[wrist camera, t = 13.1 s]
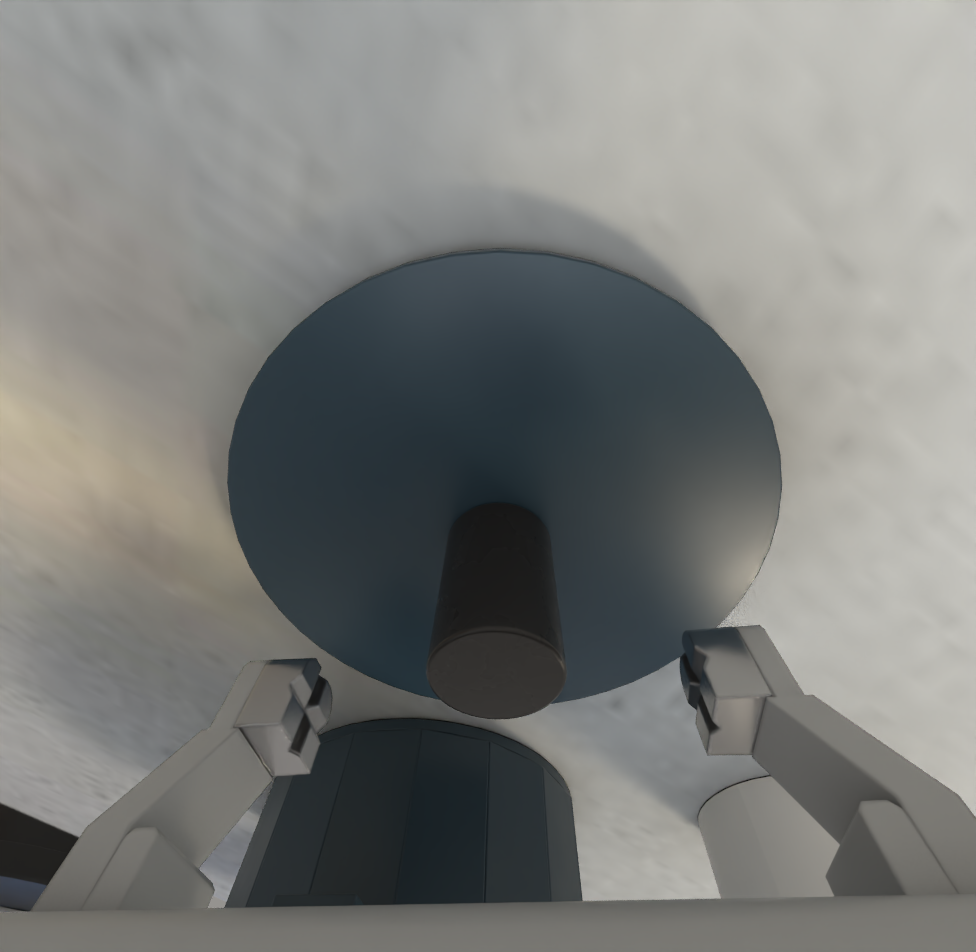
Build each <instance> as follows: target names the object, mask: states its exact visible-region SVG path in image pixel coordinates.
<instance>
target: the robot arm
mask: <svg viewBox="0 0 976 952" xmlns="http://www.w3.org/2000/svg"><path fill="white" fill-rule="evenodd" d="M682 645H683V648H684V650H685V653H684V654H683V655H682V656H681V657H680V674H681V681H682V685H683V689H684V692H685V695H686V698H687V701H688V703H689V704H690V705H691V706H692V707H694V708H695V709H696V710H697V715H696V726H697V729H698V731H699V734H700V737H701V740H702V742H703V745H704V748H705V750H706V753H707V756H708V755H752V757H753V758H754V759H755V760H756V761H757V762H758V763H759V764H760V765H761V766H762V767H763V768H764V769H765V770H766V771H767V772H768V773H769V774H770V775H771V776H772V777H773V778H774V779H775V780H776V781H777V782H778V783H779V784H780V785H781V786H782V787H783V788H784V789H785V790H786V791H787V792H788V793H789V794H790V795H791V796H792V797H793V798H794V799H795V800H796V801H797V802H798V803H799V804H800V805H801V806H802V807H803V808H804V809H805V810H806V811H807V812H808V813H809V814H810V815H811V816H812V817H813V818H814V819H815V820H816V821H817V822H818V823H819V824H820V825H821V826H822V827H823V828H824V829H825V830H826V831H827V832H828V833H829V834H830V835H831V836H832V837H833V838H834V839H835V840H836V841H837V842H838V843H839V844H840V846H839V848H838V850H837V852H836V854H835V857H834V859H833V861H832V863H831V865H830V867H829V869H828V871H827V873H826V876H825V877H826V879H827V881H828V884H829V886H830V888H831V890H832V892H833V894H834V896H833V897H778V898H724V899H670V900H616V901H562V902H509V903H457V904H404V905H351V906H299V907H246V908H208V905H209V903H210V900H211V898H212V896H213V893H214V891H215V890H214V887H213V883H212V882H211V881H210V880H209V879H208V878H207V877H206V876H205V875H204V874H203V873H202V872H201V871H200V870H199V867H200V866H201V865H202V864H203V863H204V861H205V860H206V859H207V858H208V857H209V855H210V854H211V853H212V852H213V851H214V849H215V848H216V847H217V846H218V845H219V843H220V842H221V841H222V840H223V839H224V837H225V836H226V835H227V834H228V833H229V831H230V830H231V829H232V828H233V827H234V825H235V824H236V823H237V822H238V821H239V819H240V818H241V817H242V816H243V815H244V813H245V812H246V811H247V810H248V809H249V807H250V806H251V805H252V804H253V803H254V801H255V800H256V799H257V798H258V797H259V795H260V794H261V793H262V792H263V791H264V789H265V788H266V787H267V786H268V785H269V783H270V782H271V781H272V780H273V778H272V777H279V776H292V775H305V774H310V773H311V770H312V767H313V764H314V761H315V758H316V755H317V752H318V749H319V746H320V741H319V738H318V735H317V733H318V732H319V731H320V730H321V729H322V728H323V727H324V726H325V725H326V724H327V723H328V719H329V716H330V713H331V707H332V692H331V687H330V685H329V683H328V681H327V680H326V679H324V678H323V677H321V676H320V675H319V673H320V670H321V666H320V664H319V663H318V661H317V659H316V658H306V659H283V660H265V661H250V662H249V663H248V664H247V665H245V666H244V667H243V669H242V670H241V672H240V674H239V676H238V678H237V679H236V681H235V683H234V685H233V687H232V688H231V690H230V692H229V694H228V695H227V697H226V699H225V701H224V703H223V704H222V706H221V708H220V710H219V711H218V713H217V715H216V717H215V719H214V720H213V722H212V724H211V726H210V728H209V729H207V730H201V731H200V732H199V733H198V734H197V735H196V736H194V737H193V738H192V739H191V740H190V741H188V742H187V743H186V744H185V745H184V746H182V747H181V748H180V749H179V750H178V751H176V752H175V753H174V754H173V755H172V756H170V757H169V758H168V759H167V760H166V761H165V762H163V763H162V764H161V765H160V766H159V767H157V768H156V769H155V770H154V771H153V772H151V773H150V774H149V775H148V776H147V777H145V778H144V779H143V780H142V781H141V782H139V783H138V784H137V785H136V786H135V787H134V788H132V789H131V790H130V791H129V792H128V793H126V794H125V795H124V796H123V797H122V798H120V799H119V800H118V801H117V802H116V803H114V804H113V805H112V806H111V807H110V808H108V809H107V810H106V811H105V812H104V813H103V814H101V815H100V816H99V817H98V818H97V819H95V820H94V821H93V822H92V823H91V824H89V825H88V826H87V827H86V829H85V830H84V832H83V833H82V835H81V836H80V838H79V839H78V841H77V842H76V844H75V845H74V847H73V848H72V850H71V851H70V853H69V854H68V856H67V857H66V859H65V860H64V862H63V863H62V865H61V866H60V868H59V869H58V871H57V872H56V874H55V875H54V877H53V878H52V880H51V881H50V883H49V884H48V886H47V887H46V889H45V890H44V892H43V893H42V895H41V896H40V898H39V899H38V901H37V902H36V904H35V905H34V907H33V908H32V910H31V911H30V912H24V911H20V910H15V909H10V908H6V907H2V906H0V952H976V817H975V816H974V815H973V813H972V812H971V811H970V809H969V808H968V807H967V805H966V804H965V803H964V801H963V800H962V799H961V797H960V796H959V795H958V794H956V793H955V792H953V791H952V790H950V789H949V788H947V787H946V786H945V785H943V784H942V783H940V782H939V781H937V780H936V779H934V778H933V777H931V776H930V775H929V774H927V773H926V772H924V771H923V770H921V769H920V768H918V767H917V766H915V765H914V764H913V763H911V762H910V761H908V760H907V759H905V758H904V757H902V756H901V755H899V754H898V753H897V752H895V751H894V750H892V749H891V748H889V747H888V746H886V745H885V744H883V743H882V742H881V741H879V740H878V739H876V738H875V737H873V736H872V735H870V734H869V733H867V732H866V731H865V730H863V729H862V728H860V727H859V726H857V725H856V724H854V723H853V722H851V721H850V720H849V719H847V718H846V717H844V716H843V715H841V714H840V713H838V712H837V711H835V710H834V709H833V708H831V707H830V706H828V705H827V704H825V703H824V702H822V701H821V700H820V699H818V698H817V697H815V696H814V695H804V693H803V692H802V690H801V688H800V687H799V685H798V683H797V682H796V680H795V678H794V677H793V675H792V674H791V672H790V670H789V669H788V667H787V665H786V664H785V662H784V660H783V659H782V657H781V655H780V654H779V652H778V651H777V649H776V647H775V646H774V644H773V642H772V641H771V639H770V637H769V636H768V634H767V633H766V631H765V629H764V628H762V627H761V626H760V625H754V626H740V627H721V628H710V629H698V630H686V631H684V633H683V634H682Z"/></svg>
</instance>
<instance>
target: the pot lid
mask: <svg viewBox="0 0 976 952" xmlns="http://www.w3.org/2000/svg"><path fill="white" fill-rule="evenodd" d="M227 484H228V493H229V502H230V510H231V515H232V519H233V523H234V526H235V530H236V534H237V537H238V541H239V543H240V545H241V548H242V550H243V552H244V555H245V557H246V559H247V562H248V564H249V566H250V568H251V570H252V571H253V573H254V575H255V576H256V578H257V580H258V581H259V583H260V585H261V586H262V588H263V590H264V591H265V592H266V594H267V595H268V596H269V597H270V599H271V600H272V601H273V602H274V604H275V605H276V606H277V607H278V609H279V610H280V611H281V612H282V613H283V614H284V615H285V616H286V618H287V619H288V620H289V621H290V622H291V623H292V624H293V625H294V626H295V627H296V628H297V629H298V630H299V631H300V632H302V633H303V634H304V635H305V636H307V637H308V638H309V639H310V640H312V641H313V642H314V643H315V644H316V645H318V646H319V647H320V648H321V649H323V650H324V651H326V652H327V653H329V654H330V655H332V656H334V657H335V658H337V659H338V660H340V661H341V662H343V663H344V664H346V665H348V666H350V667H352V668H354V669H355V670H357V671H359V672H361V673H363V674H365V675H367V676H369V677H371V678H374V679H376V680H378V681H381V682H383V683H386V684H388V685H390V686H393V687H396V688H399V689H402V690H405V691H408V692H411V693H414V694H418V695H421V696H426V697H430V698H434V699H439V700H442V701H443V702H444V703H445V704H447V705H448V706H450V707H452V708H454V709H455V710H457V711H460V712H462V713H465V714H468V715H471V716H475V717H480V718H487V719H510V718H517V717H522V716H526V715H529V714H532V713H535V712H537V711H539V710H541V709H543V708H545V707H546V706H548V705H549V704H554V703H559V702H565V701H570V700H576V699H581V698H585V697H588V696H592V695H596V694H599V693H603V692H607V691H609V690H612V689H615V688H618V687H620V686H623V685H626V684H629V683H631V682H634V681H636V680H638V679H640V678H642V677H644V676H646V675H648V674H650V673H653V672H655V671H657V670H659V669H660V668H662V667H664V666H665V665H667V664H669V663H670V662H672V661H674V660H675V659H677V658H679V657H680V656H682V655H683V654H684V653H685V650H684V648H683V645H682V634H683V633H684V631H686V630H698V629H710V628H716V627H717V626H718V625H719V624H720V623H721V622H722V621H723V620H724V619H725V618H726V617H727V616H728V615H729V613H730V612H731V611H732V610H733V609H734V607H735V606H736V605H737V604H738V603H739V601H740V600H741V599H742V598H743V596H744V595H745V593H746V592H747V590H748V588H749V587H750V585H751V584H752V582H753V581H754V579H755V577H756V576H757V574H758V572H759V570H760V568H761V566H762V564H763V561H764V559H765V557H766V555H767V553H768V550H769V548H770V546H771V542H772V539H773V535H774V532H775V528H776V524H777V521H778V516H779V508H780V499H781V491H782V479H781V460H780V451H779V447H778V443H777V438H776V434H775V429H774V425H773V421H772V419H771V416H770V414H769V412H768V409H767V407H766V405H765V402H764V400H763V397H762V395H761V393H760V390H759V388H758V387H757V385H756V384H755V382H754V380H753V379H752V377H751V376H750V374H749V373H748V371H747V370H746V368H745V367H744V365H743V363H742V362H741V360H740V359H739V357H738V356H737V355H736V354H735V353H734V352H733V351H732V350H731V348H730V347H729V346H728V345H727V344H726V343H725V342H724V341H723V340H722V339H721V338H720V336H719V335H718V334H717V333H716V332H715V331H714V330H713V329H712V328H711V327H710V326H709V325H707V324H706V323H705V322H704V321H702V320H701V319H700V318H699V317H697V316H696V315H695V314H693V313H692V312H691V311H690V310H688V309H687V308H686V307H685V306H683V305H682V304H681V303H679V302H678V301H677V300H675V299H674V298H672V297H670V296H668V295H666V294H665V293H663V292H661V291H659V290H658V289H656V288H654V287H652V286H650V285H649V284H647V283H645V282H643V281H641V280H640V279H638V278H636V277H634V276H631V275H629V274H626V273H623V272H621V271H618V270H615V269H613V268H610V267H607V266H604V265H602V264H599V263H596V262H594V261H590V260H586V259H581V258H576V257H572V256H567V255H562V254H557V253H553V252H548V251H536V250H520V249H504V248H496V249H483V250H471V251H459V252H451V253H446V254H442V255H438V256H433V257H429V258H425V259H420V260H416V261H412V262H408V263H405V264H403V265H400V266H397V267H395V268H392V269H390V270H387V271H385V272H382V273H380V274H377V275H375V276H372V277H370V278H367V279H365V280H364V281H362V282H360V283H358V284H357V285H355V286H353V287H352V288H350V289H348V290H346V291H345V292H343V293H341V294H340V295H338V296H336V297H334V298H333V299H331V300H329V301H328V302H326V303H324V304H323V305H322V306H321V307H320V308H318V309H317V310H316V311H315V312H313V313H312V314H311V315H310V316H309V317H307V318H306V319H305V320H304V321H302V322H301V323H300V324H299V325H297V326H296V327H295V328H294V329H293V330H292V331H291V332H290V333H289V334H288V335H287V337H286V338H285V339H284V340H283V341H282V342H281V343H280V345H279V346H278V347H277V348H276V349H275V350H274V351H273V352H272V354H271V355H270V356H269V357H268V358H267V360H266V362H265V363H264V365H263V366H262V368H261V370H260V371H259V373H258V374H257V376H256V378H255V379H254V381H253V382H252V384H251V386H250V387H249V389H248V392H247V394H246V396H245V399H244V401H243V404H242V406H241V409H240V411H239V414H238V416H237V419H236V422H235V427H234V431H233V436H232V440H231V445H230V449H229V461H228V481H227Z"/></svg>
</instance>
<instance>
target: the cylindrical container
mask: <svg viewBox="0 0 976 952" xmlns="http://www.w3.org/2000/svg"><path fill="white" fill-rule="evenodd" d="M698 822H699V827H700V830H701V834H702V837H703V840H704V843H705V847H706V850H707V853H708V857H709V860H710V863H711V867H712V870H713V873H714V876H715V880H716V883H717V886H718V890H719V893H720V896H721V899H724V898H778V897H833V896H834V894H833V892H832V890H831V888H830V886H829V884H828V881H827V879H826V877H825V876H826V873H827V871H828V869H829V867H830V865H831V863H832V861H833V859H834V857H835V854H836V852H837V850H838V848H839V846H840V844H839V843H838V842H837V841H836V840H835V839H834V838H833V837H832V836H831V835H830V834H829V833H828V832H827V831H826V830H825V829H824V828H823V827H822V826H821V825H820V824H819V823H818V822H817V821H816V820H815V819H814V818H813V817H812V816H811V815H810V814H809V813H808V812H807V811H806V810H805V809H804V808H803V807H802V806H801V805H800V804H799V803H798V802H797V801H796V800H795V799H794V798H793V797H792V796H791V795H790V794H789V793H788V792H787V791H786V790H785V789H784V788H783V787H782V786H781V785H780V784H779V783H778V782H777V781H776V780H775V779H774V778H773V777H772V776H770V777H764V778H759V779H754V780H750V781H746V782H743V783H740V784H737V785H734V786H732V787H730V788H727V789H725V790H723V791H721V792H720V793H718V794H716V795H715V796H713V797H712V798H711V799H710V800H709V801H707V802H706V803H705V805H704V806H703V807H702V809H701V810H700V813H699V816H698Z"/></svg>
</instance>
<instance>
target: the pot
mask: <svg viewBox="0 0 976 952" xmlns="http://www.w3.org/2000/svg"><path fill="white" fill-rule="evenodd" d="M318 738H319V741H320V746H319V749H318V752H317V755H316V758H315V761H314V764H313V767H312V770H311V773H310V774H305V775H292V776H279V777H276V779H275V781H274V783H273V786H272V789H271V791H270V794H269V796H268V799H267V801H266V804H265V806H264V809H263V811H262V814H261V816H260V819H259V821H258V824H257V826H256V829H255V832H254V834H253V837H252V839H251V842H250V844H249V847H248V849H247V852H246V854H245V857H244V859H243V862H242V864H241V867H240V869H239V872H238V875H237V877H236V880H235V882H234V885H233V887H232V890H231V892H230V895H229V897H228V900H227V902H226V905H225V907H224V908H246V907H299V906H351V905H404V904H457V903H509V902H562V901H583V900H582V891H581V882H580V872H579V863H578V854H577V844H576V835H575V826H574V816H573V807H572V798H571V796H570V791H569V789H568V787H567V785H566V783H565V781H564V779H563V778H562V777H561V776H560V774H559V773H558V772H557V770H556V769H555V768H554V767H552V766H551V765H550V764H549V763H548V762H547V761H546V760H545V759H543V758H542V757H540V756H539V755H538V754H536V753H535V752H533V751H532V750H530V749H528V748H526V747H525V746H523V745H521V744H519V743H517V742H515V741H513V740H510V739H508V738H505V737H503V736H501V735H498V734H495V733H492V732H489V731H485V730H482V729H479V728H475V727H471V726H466V725H462V724H457V723H451V722H444V721H437V720H423V719H387V720H376V721H368V722H362V723H357V724H352V725H348V726H344V727H341V728H337V729H334V730H331V731H329V732H326V733H324V734H322V735H319V736H318Z"/></svg>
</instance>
